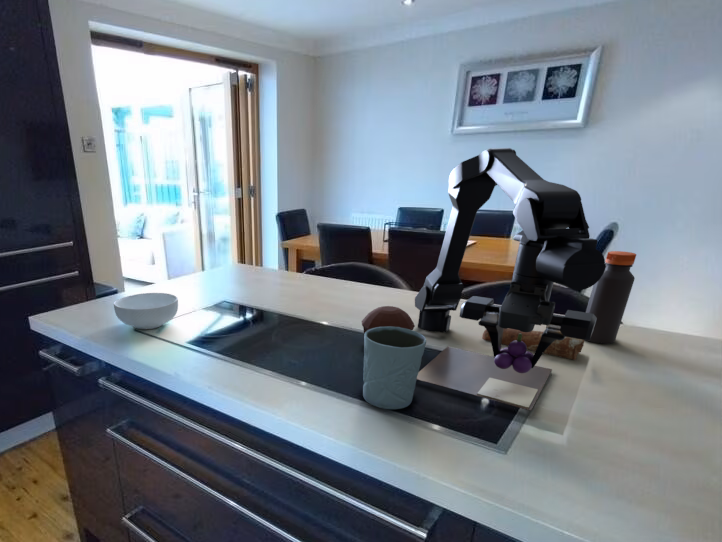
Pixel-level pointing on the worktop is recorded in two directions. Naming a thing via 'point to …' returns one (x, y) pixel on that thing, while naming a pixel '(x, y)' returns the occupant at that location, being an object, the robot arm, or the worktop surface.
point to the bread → (531, 339)
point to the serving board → (485, 377)
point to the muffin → (387, 318)
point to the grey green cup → (391, 366)
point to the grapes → (515, 356)
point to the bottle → (611, 296)
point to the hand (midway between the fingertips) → (513, 363)
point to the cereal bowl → (146, 309)
